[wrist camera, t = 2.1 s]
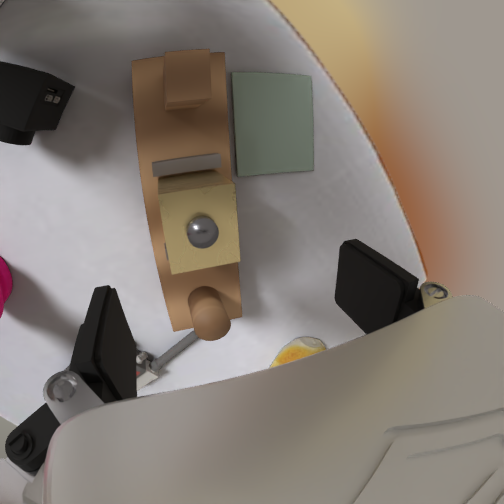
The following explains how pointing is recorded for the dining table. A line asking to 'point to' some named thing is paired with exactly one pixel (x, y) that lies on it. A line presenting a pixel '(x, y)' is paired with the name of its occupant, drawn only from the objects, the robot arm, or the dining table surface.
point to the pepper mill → (4, 284)
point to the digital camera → (29, 102)
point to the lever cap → (199, 220)
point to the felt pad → (272, 122)
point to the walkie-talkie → (157, 361)
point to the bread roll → (298, 350)
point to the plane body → (181, 162)
